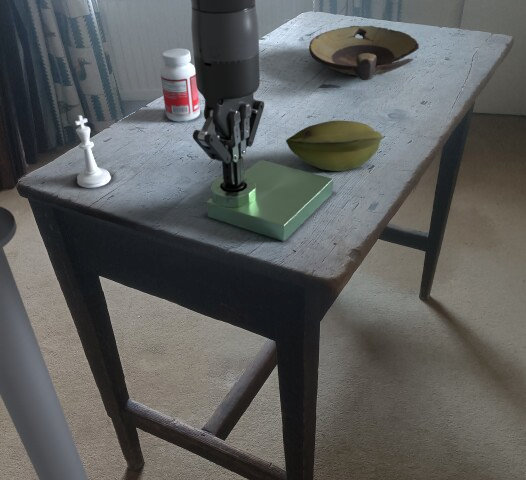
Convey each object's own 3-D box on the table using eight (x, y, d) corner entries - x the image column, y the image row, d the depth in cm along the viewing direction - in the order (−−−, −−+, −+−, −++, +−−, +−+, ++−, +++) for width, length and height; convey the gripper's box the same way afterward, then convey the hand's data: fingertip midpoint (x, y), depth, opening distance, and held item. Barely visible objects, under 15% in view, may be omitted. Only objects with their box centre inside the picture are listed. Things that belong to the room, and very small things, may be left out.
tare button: (237, 202, 78) (236, 191, 77) (218, 197, 79) (217, 185, 78) (249, 192, 80) (248, 181, 78) (231, 187, 81) (230, 176, 80)
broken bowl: (427, 57, 129) (433, 19, 124) (386, 105, 108) (391, 63, 104) (332, 44, 137) (334, 9, 132) (277, 87, 116) (277, 47, 111)
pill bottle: (188, 106, 110) (182, 44, 103) (206, 116, 106) (201, 53, 99) (159, 114, 107) (151, 51, 100) (176, 125, 103) (169, 60, 96)
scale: (283, 241, 75) (284, 214, 72) (204, 215, 80) (202, 189, 78) (332, 193, 84) (334, 168, 82) (258, 173, 89) (258, 148, 87)
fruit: (354, 187, 85) (358, 144, 81) (283, 168, 90) (283, 127, 86) (385, 156, 93) (390, 116, 89) (318, 140, 98) (319, 101, 94)
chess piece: (117, 179, 88) (104, 115, 82) (88, 191, 86) (72, 126, 79) (99, 169, 91) (86, 106, 85) (71, 179, 89) (55, 115, 82)
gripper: (230, 28, 73) (237, 157, 84) (163, 59, 64) (181, 198, 75) (283, 36, 70) (283, 169, 81) (220, 70, 61) (229, 213, 72)
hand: (233, 183), depth 78 cm, fingers closed
